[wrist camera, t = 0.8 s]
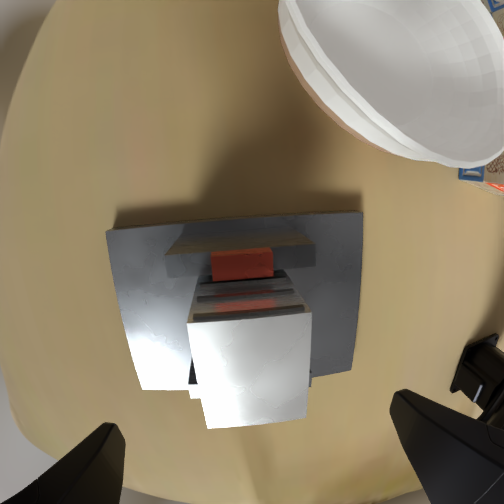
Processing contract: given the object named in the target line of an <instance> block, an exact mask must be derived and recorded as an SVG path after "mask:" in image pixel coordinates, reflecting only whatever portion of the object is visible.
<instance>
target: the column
mask: <svg viewBox="0 0 504 504" xmlns="http://www.w3.org/2000/svg"><path fill="white" fill-rule="evenodd" d="M273 272H274V276H272V277H260V278H249V279H236V280H224V281H213V276H212V275H206V276H198V279H197V283H196V287H195V291H194V295H193V299H192V303H191V307H190V311H189V315H188V320H187V329H188V335H189V340H190V346H191V351H192V357H193V362H194V367H195V372H196V377H197V382H198V386H199V391H200V396H201V400H202V405H203V409H204V413H205V418H206V422H207V426H208V428H220V427H236V426H248V425H258V424H267V423H275V422H282V421H289V420H295V419H301V418H306V412H307V400H308V386H309V371H310V352H311V329H312V311H311V310H310V308H309V307H308V305H307V304H306V302H305V301H304V299H303V298H302V296H301V295H300V293H299V292H298V290H297V289H296V287H295V286H294V284H293V283H292V281H291V280H290V278H289V276H288V275H287V273H286V272H285V270H284V269H280V270H273Z"/></svg>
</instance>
